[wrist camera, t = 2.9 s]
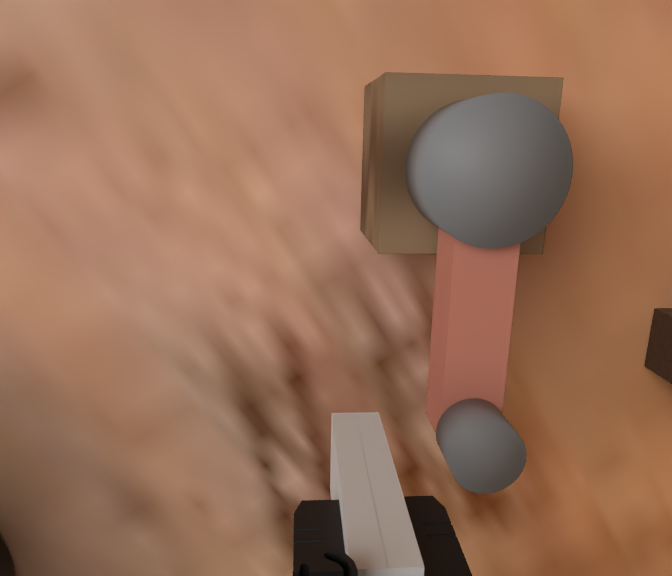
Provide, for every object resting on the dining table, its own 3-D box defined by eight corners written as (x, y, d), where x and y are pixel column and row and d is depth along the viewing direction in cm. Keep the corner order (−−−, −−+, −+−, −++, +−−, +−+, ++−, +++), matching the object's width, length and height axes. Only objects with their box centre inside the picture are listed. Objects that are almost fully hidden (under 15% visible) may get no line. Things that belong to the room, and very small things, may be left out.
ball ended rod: (408, 96, 24) (441, 85, 19) (542, 100, 25) (610, 90, 19) (392, 430, 28) (415, 495, 23) (506, 427, 29) (554, 491, 24)
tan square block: (491, 230, 33) (542, 254, 27) (360, 229, 33) (378, 253, 26) (504, 90, 31) (563, 77, 25) (364, 86, 31) (385, 72, 24)
